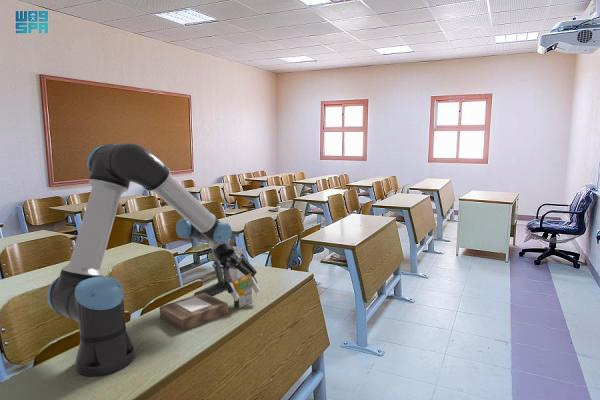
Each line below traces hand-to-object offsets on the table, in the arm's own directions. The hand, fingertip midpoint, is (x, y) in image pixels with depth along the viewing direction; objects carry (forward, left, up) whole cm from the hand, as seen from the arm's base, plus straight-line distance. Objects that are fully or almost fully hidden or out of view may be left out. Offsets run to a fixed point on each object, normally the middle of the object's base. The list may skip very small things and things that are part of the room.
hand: (247, 295), depth 148 cm
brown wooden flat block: (-18, +8, -4) cm, 20 cm away
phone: (0, +24, -5) cm, 25 cm away
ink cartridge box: (+15, +29, -5) cm, 33 cm away
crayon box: (0, +3, -4) cm, 6 cm away
